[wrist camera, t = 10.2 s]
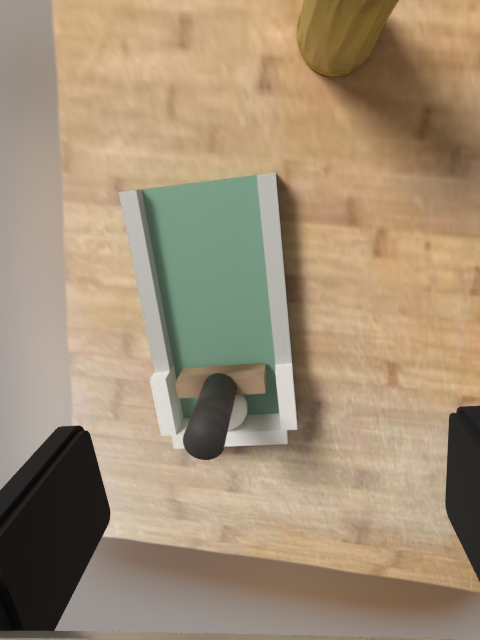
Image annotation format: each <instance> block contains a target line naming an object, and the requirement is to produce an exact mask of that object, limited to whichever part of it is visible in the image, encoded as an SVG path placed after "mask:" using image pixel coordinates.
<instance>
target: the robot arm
mask: <svg viewBox="0 0 480 640" xmlns="http://www.w3.org/2000/svg"><path fill="white" fill-rule="evenodd" d="M445 502H446V510H447V514H448V517H449V520H450V522H451V524H452V526H453V528H454V530H455V532H456V534H457V536H458V538H459V540H460V542H461V544H462V546H463V548H464V550H465V553H466V555H467V557H468V559H469V561H470V563H471V565H472V567H473V569H474V571H475V573H476V575H477V577H478V579H479V581H480V406H466V407H459V408H458V409H457V412H456V413H451V414H450V416H449V433H448V456H447V478H446V501H445ZM109 520H110V507H109V504H108V500H107V496H106V492H105V489H104V485H103V481H102V477H101V474H100V470H99V466H98V462H97V458H96V455H95V451H94V447H93V443H92V440H91V436H90V433H89V432H88V431H84V429H83V427H81V426H62V427H58V428H57V429H56V430H55V431H54V432H53V433H52V434H51V435H50V436H49V437H48V439H47V440H46V441H45V442H44V443H43V444H42V445H41V446H40V448H38V450H37V451H36V452H35V453H34V454H33V455H32V456H31V457H30V458H29V460H28V461H27V462H26V463H25V464H24V465H23V466H22V467H21V468H20V469H19V471H18V472H17V473H16V474H15V475H14V476H13V477H12V478H11V479H10V480H9V481H8V483H7V484H6V485H5V486H4V487H3V488H2V489H1V490H0V640H453V639H430V638H393V637H392V638H391V637H353V636H316V635H273V634H272V635H271V634H270V635H269V634H223V633H221V634H220V633H168V632H167V633H166V632H165V633H164V632H100V631H98V632H97V631H95V632H94V631H54V630H55V628H56V626H57V624H58V622H59V620H60V618H61V616H62V614H63V612H64V610H65V608H66V606H67V604H68V603H69V601H70V598H71V597H72V594H73V593H74V591H75V589H76V587H77V585H78V583H79V581H80V579H81V577H82V575H83V573H84V571H85V569H86V567H87V565H88V563H89V561H90V559H91V557H92V555H93V553H94V551H95V549H96V547H97V545H98V543H99V542H100V539H101V538H102V536H103V534H104V532H105V530H106V528H107V526H108V523H109Z"/></svg>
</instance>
